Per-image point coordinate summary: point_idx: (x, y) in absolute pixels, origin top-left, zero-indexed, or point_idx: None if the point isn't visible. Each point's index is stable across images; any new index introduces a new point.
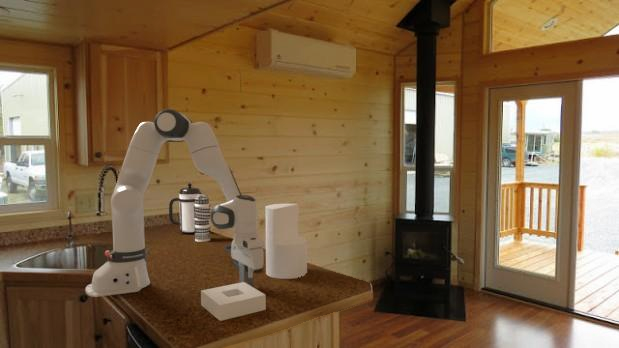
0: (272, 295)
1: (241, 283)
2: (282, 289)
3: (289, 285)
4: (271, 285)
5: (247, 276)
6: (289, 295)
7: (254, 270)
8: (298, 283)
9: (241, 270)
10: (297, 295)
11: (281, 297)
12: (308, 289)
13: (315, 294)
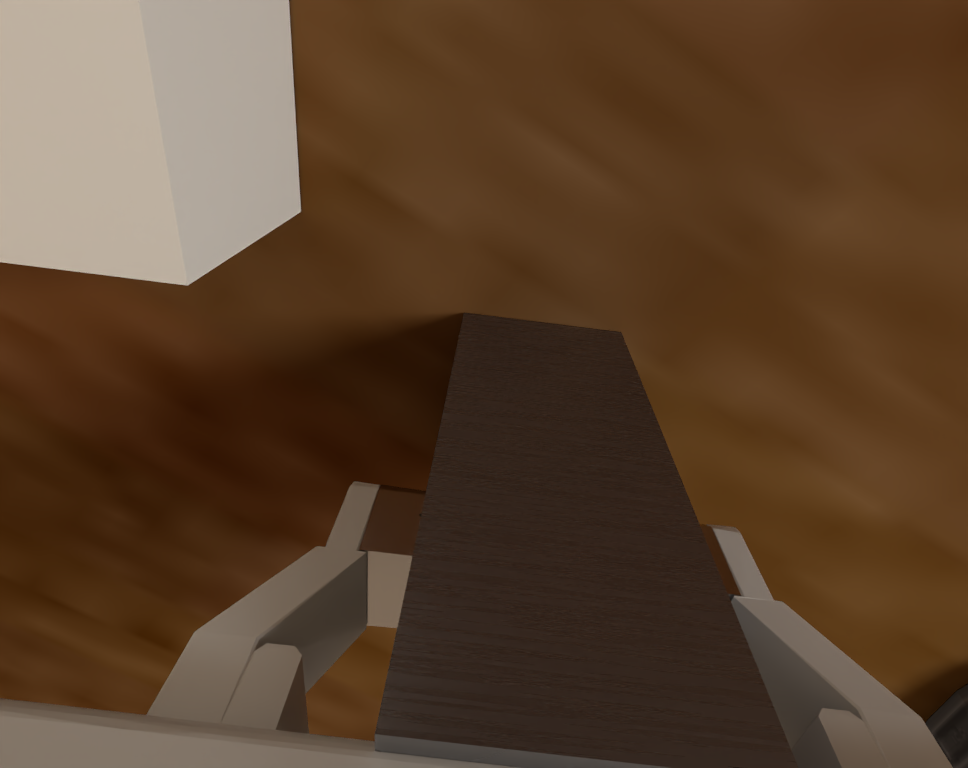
0: (137, 466)
1: (91, 172)
2: None
3: (333, 687)
4: None
5: (400, 491)
6: (70, 565)
7: (939, 729)
8: None
9: (574, 541)
10: (43, 603)
11: (38, 492)
12: None
13: (18, 684)
